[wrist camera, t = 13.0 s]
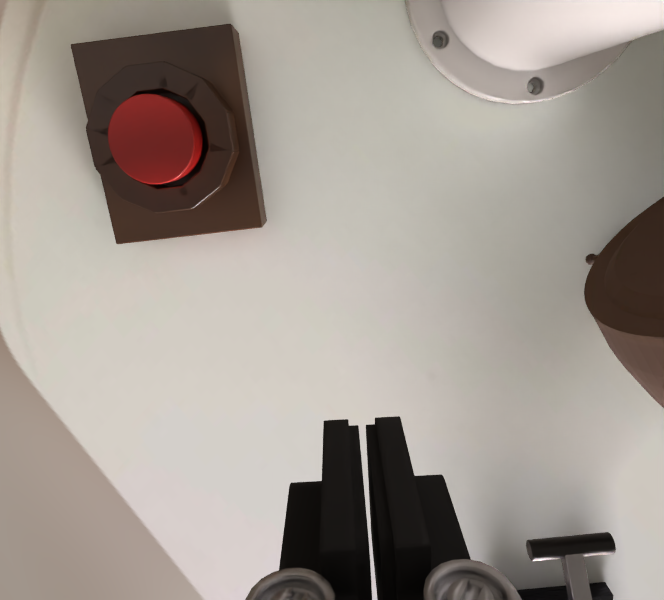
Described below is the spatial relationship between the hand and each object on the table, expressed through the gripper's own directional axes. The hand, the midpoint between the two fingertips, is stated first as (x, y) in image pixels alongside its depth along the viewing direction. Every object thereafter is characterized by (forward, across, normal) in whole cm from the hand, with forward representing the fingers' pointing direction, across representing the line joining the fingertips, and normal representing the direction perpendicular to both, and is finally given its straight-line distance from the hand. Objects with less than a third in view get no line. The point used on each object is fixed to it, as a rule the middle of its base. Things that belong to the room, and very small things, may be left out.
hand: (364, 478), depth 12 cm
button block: (+21, +9, -8) cm, 24 cm away
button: (+17, +9, -8) cm, 21 cm away
